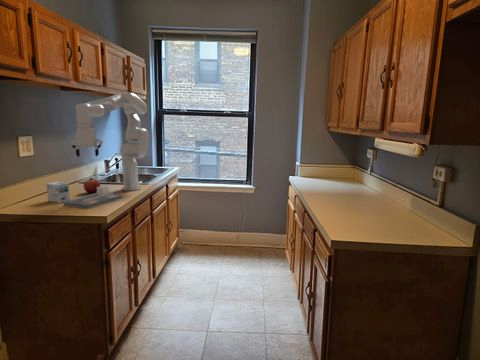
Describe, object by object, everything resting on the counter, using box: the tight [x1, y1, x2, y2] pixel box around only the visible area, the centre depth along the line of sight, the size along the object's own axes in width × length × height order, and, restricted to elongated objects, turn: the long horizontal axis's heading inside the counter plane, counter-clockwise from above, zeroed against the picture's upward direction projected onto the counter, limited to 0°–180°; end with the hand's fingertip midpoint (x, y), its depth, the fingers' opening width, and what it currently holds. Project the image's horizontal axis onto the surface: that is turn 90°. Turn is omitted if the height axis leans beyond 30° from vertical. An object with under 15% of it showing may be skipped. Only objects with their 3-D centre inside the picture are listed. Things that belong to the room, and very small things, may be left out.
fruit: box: [83, 177, 101, 194], centre depth 211 cm, size 11×10×10 cm
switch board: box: [63, 191, 123, 209], centre depth 189 cm, size 26×18×4 cm
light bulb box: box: [46, 181, 71, 204], centre depth 189 cm, size 11×7×11 cm, turn 66°
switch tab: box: [96, 185, 110, 196], centre depth 194 cm, size 4×5×5 cm
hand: (87, 156), depth 185 cm, fingers open, 9 cm apart
